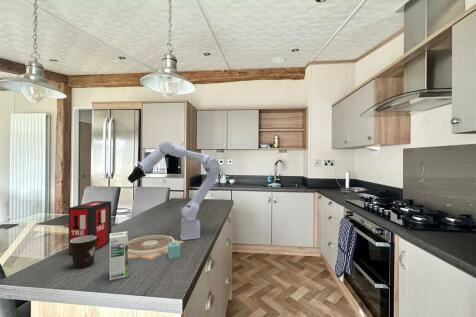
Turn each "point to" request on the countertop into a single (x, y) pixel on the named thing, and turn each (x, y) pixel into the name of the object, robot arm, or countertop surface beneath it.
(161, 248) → the ring tray
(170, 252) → the bead
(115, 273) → the syrup box
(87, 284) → the countertop surface
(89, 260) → the coffee mug
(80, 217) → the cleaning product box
